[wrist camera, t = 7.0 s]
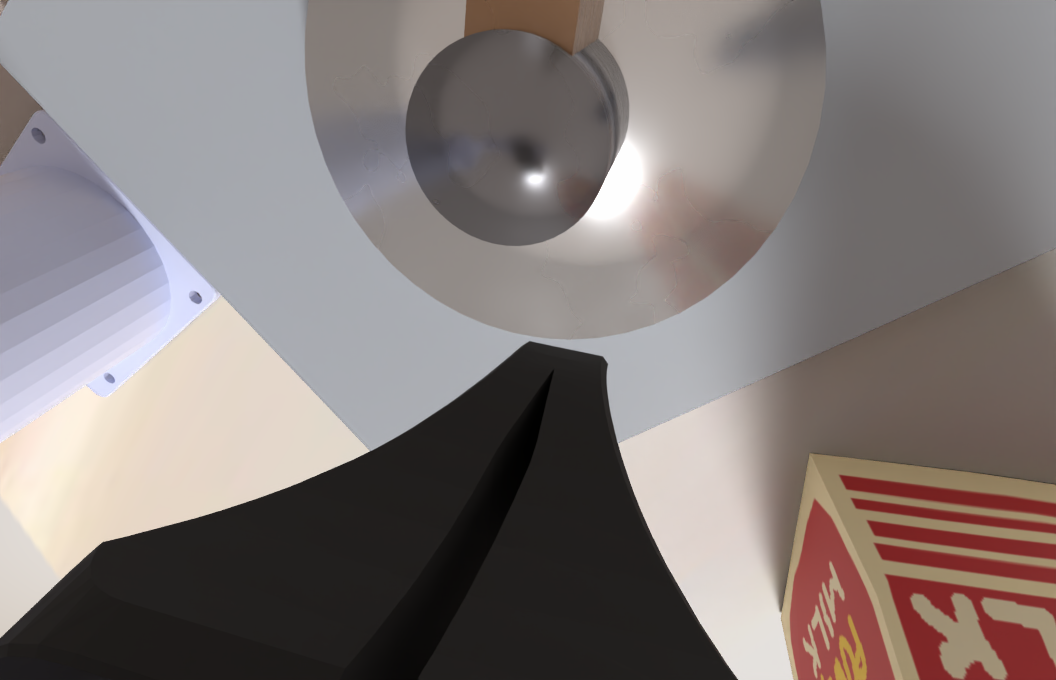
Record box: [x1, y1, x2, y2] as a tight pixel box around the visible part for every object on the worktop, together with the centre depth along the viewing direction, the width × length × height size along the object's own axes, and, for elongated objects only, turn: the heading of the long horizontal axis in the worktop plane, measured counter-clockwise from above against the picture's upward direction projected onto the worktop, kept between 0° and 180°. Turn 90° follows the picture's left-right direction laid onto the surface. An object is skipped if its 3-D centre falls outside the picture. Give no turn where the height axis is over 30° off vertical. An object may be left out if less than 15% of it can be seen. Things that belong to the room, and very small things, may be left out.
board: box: [0, 0, 1056, 451], centre depth 16 cm, size 26×21×2 cm
